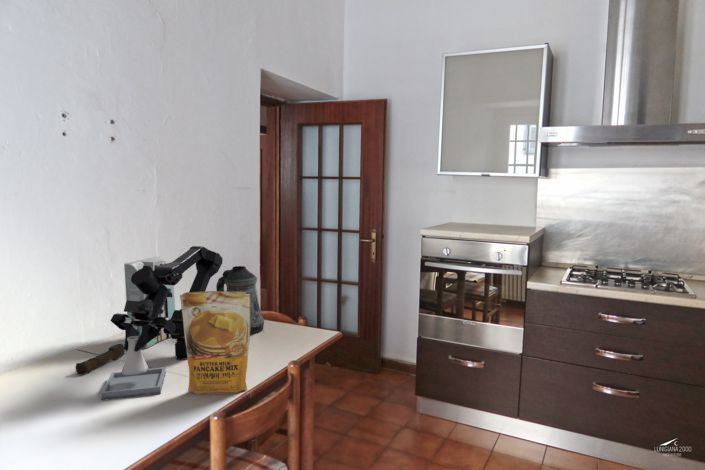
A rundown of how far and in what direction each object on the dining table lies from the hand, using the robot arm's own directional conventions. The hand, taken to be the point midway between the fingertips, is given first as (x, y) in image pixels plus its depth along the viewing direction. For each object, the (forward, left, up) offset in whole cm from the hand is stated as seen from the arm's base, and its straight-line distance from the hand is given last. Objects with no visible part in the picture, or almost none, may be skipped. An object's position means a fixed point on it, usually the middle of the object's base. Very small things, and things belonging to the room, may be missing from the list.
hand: (130, 350), depth 142 cm
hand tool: (+13, -23, -11) cm, 29 cm away
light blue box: (-1, -43, -11) cm, 44 cm away
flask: (-1, -1, -7) cm, 7 cm away
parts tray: (-1, -1, -11) cm, 11 cm away
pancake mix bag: (-24, +8, -11) cm, 27 cm away
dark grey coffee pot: (-32, -48, -11) cm, 59 cm away
